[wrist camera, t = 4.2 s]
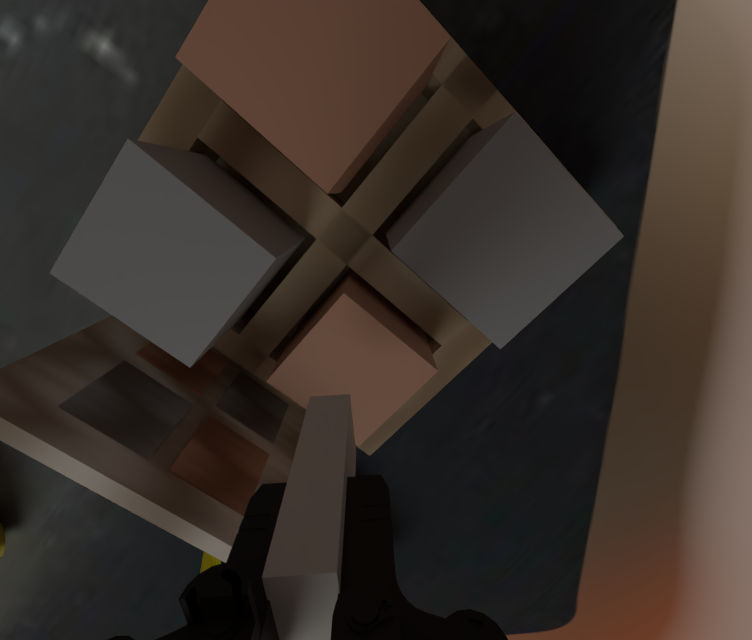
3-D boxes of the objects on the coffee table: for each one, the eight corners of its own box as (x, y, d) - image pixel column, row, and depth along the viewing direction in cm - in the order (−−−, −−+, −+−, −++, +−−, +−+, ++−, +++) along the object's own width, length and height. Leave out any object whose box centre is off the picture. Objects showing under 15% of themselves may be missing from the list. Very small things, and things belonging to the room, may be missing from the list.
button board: (104, 277, 23) (-148, 359, 12) (318, -58, 18) (220, -501, 6) (341, 442, 28) (319, 613, 17) (570, 219, 22) (773, 249, 11)
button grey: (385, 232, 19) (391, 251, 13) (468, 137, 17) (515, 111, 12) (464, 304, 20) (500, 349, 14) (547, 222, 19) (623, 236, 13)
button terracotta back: (292, 334, 23) (266, 381, 18) (351, 266, 22) (343, 292, 16) (361, 387, 25) (358, 446, 19) (422, 326, 23) (438, 371, 17)
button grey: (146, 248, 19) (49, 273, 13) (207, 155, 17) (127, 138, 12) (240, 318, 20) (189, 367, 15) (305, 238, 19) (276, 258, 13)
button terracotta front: (242, 102, 17) (175, 57, 11) (322, -20, 15) (292, -144, 9) (341, 192, 18) (327, 193, 12) (424, 89, 16) (450, 37, 11)
